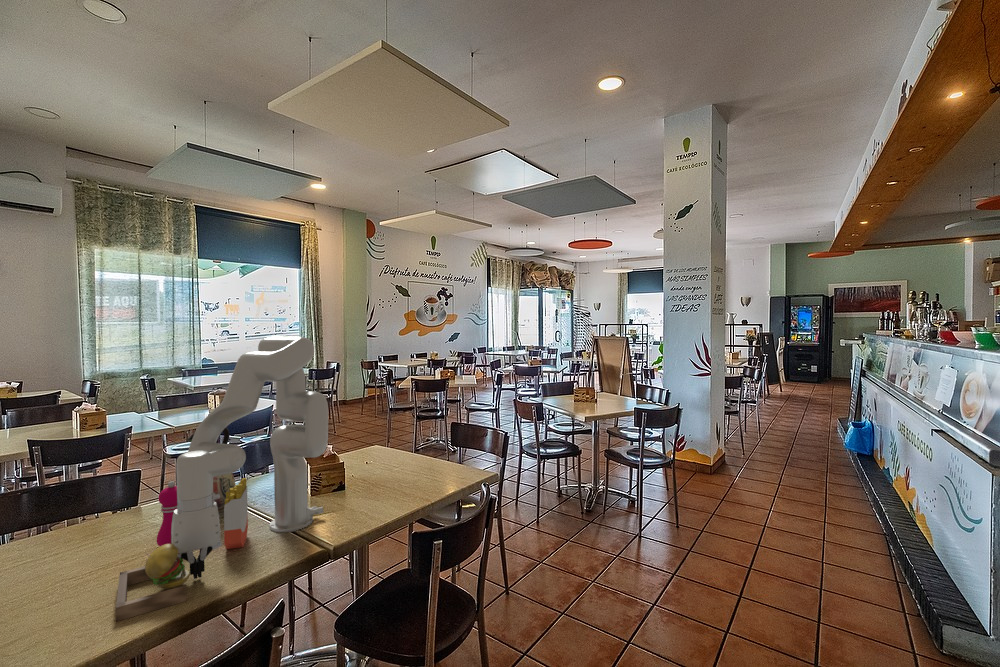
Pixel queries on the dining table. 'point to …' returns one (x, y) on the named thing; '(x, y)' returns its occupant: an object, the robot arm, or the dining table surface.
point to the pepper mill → (167, 512)
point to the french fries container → (236, 516)
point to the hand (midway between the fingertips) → (197, 575)
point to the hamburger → (166, 567)
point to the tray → (143, 603)
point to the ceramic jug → (221, 478)
